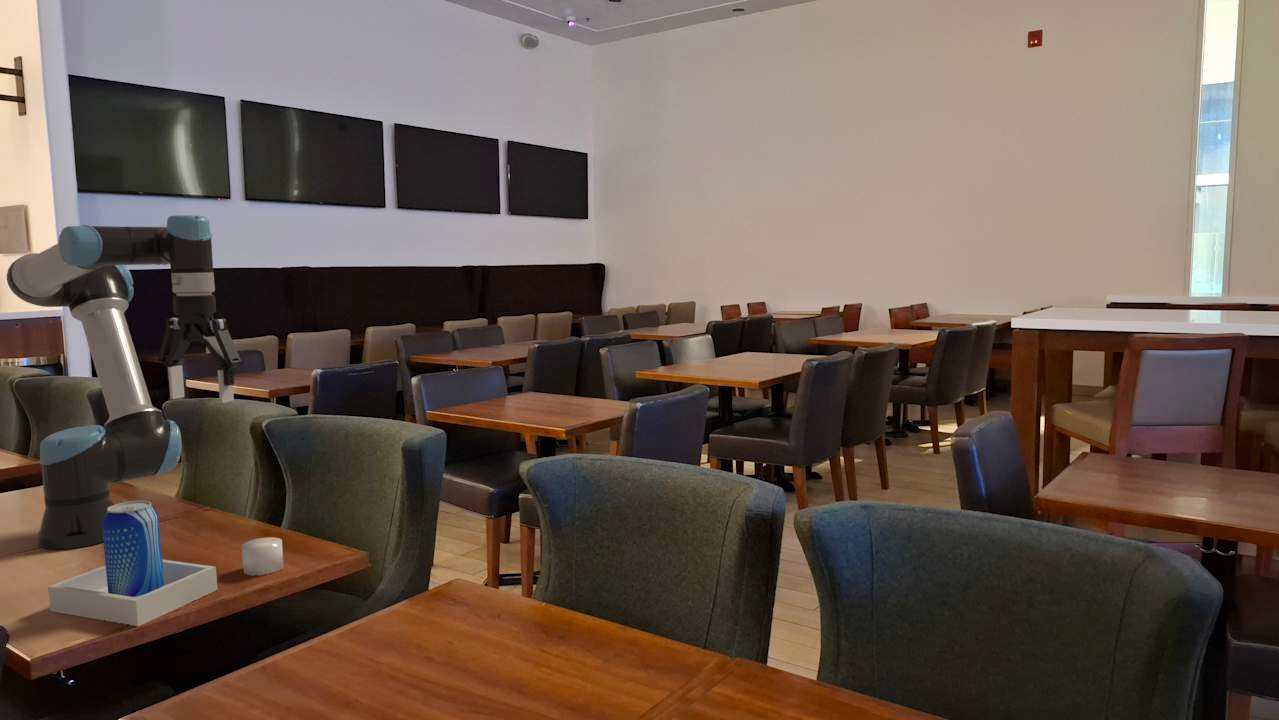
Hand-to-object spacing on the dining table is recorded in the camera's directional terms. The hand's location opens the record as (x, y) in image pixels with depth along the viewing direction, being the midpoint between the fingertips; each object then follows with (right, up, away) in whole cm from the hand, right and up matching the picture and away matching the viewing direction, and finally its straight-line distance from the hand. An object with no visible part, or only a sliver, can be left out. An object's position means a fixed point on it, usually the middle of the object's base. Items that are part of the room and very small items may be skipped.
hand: (201, 400), depth 174 cm
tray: (+1, -34, -24) cm, 42 cm away
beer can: (+1, -33, -25) cm, 41 cm away
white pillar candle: (+17, -32, -10) cm, 37 cm away
